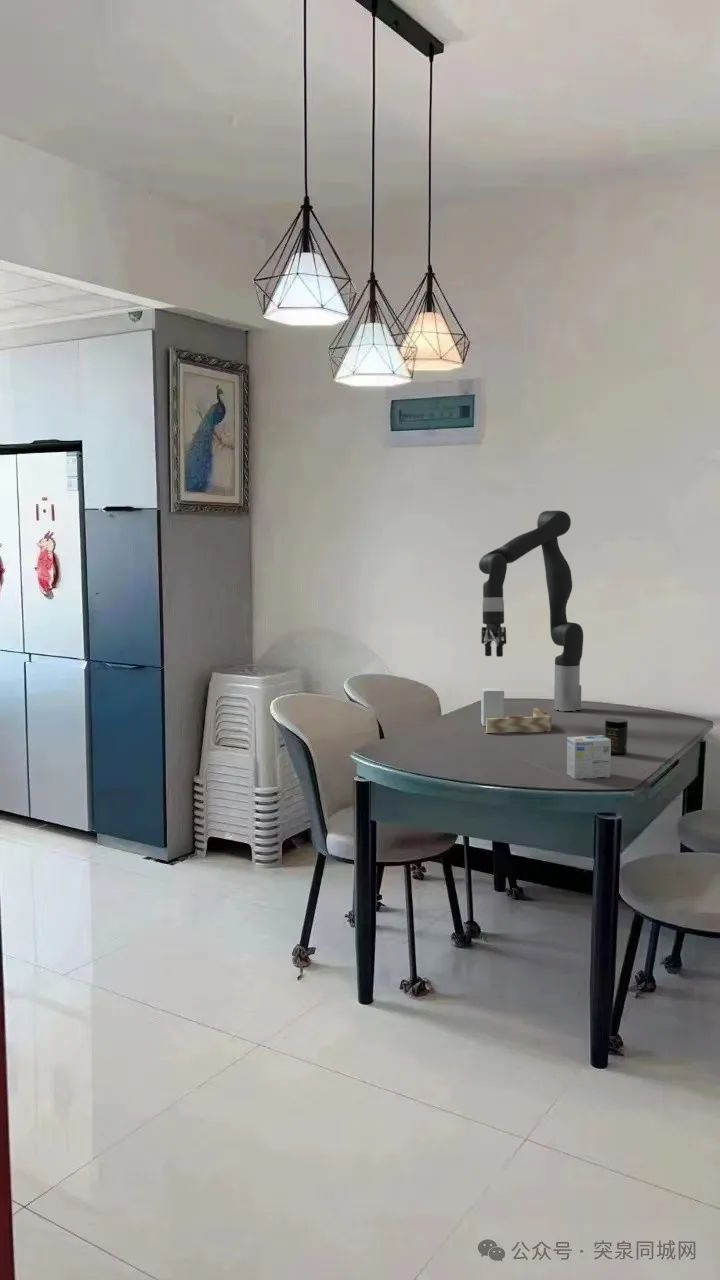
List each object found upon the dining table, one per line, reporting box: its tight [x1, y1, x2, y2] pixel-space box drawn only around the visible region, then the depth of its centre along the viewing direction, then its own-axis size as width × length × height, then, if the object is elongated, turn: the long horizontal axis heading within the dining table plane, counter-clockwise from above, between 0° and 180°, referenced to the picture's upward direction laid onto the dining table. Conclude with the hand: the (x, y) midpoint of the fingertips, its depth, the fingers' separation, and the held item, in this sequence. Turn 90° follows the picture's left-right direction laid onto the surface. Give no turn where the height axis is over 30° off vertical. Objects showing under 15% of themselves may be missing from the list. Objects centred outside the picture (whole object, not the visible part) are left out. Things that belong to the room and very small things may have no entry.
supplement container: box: [604, 717, 629, 756], centre depth 298 cm, size 7×7×10 cm
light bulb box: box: [566, 734, 612, 780], centre depth 272 cm, size 11×7×11 cm, turn 99°
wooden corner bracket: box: [485, 707, 552, 734], centre depth 337 cm, size 23×17×6 cm
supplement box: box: [480, 687, 505, 727], centre depth 342 cm, size 7×7×13 cm
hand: (493, 656), depth 346 cm, fingers open, 8 cm apart
